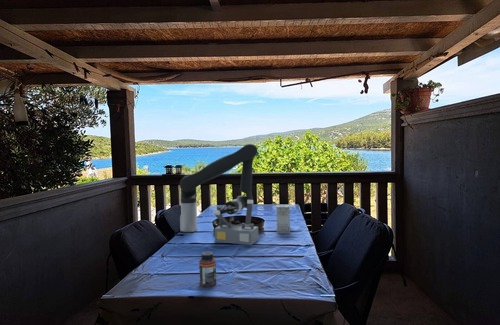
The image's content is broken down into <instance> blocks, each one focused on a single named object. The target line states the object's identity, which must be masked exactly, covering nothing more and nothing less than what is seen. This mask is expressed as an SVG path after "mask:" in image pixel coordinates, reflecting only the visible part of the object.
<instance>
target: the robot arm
mask: <svg viewBox="0 0 500 325" xmlns="http://www.w3.org/2000/svg"><path fill="white" fill-rule="evenodd" d="M257 154H258V148H257V146H256V145H255V144H254V143H246V144H245V145H243V147H241V148H239V149H238V150H237V151H235V152H233V153H230V154H227V155H225V156H222V157H220V158H218V159H216V160H214V161H212V162H211V163H209V164H207V165H206V166H204V167H202V169H200V170H199V171H196V172H194V173H192V174H190V175H189V174H188V175H185V176H183V177H182V178H181V180H180V181H179V188H180V213H181V214H180V215H179V228H180V230H179V231H180V232H183V233H192V232H196V231H197V230H198V217H197V216H198V214H197V212H198V211H197V187H199V186H201V185H202V184H203V183H206V182H208V181H210V180H213V179H215V178H217V177H220V176H222V175H223V174H225V173H227V172H229V171H230V170H232V169H233V168H235V167H236V166H237V165H239V164H241V163H242V167H241V168H242V170H241V176H240V187H239V191H240V192H241V193H243V194H244V195H238V196H236V198H235V199H231V200H229V201H226V202H225V204H224V205H223V206H221V207H220V206H216V210H219V211H220V213H221V214H222V215H224V214H225V215H226V214H227V215H230V216H232V215H234V214H236V213H238V212H240V211H242V210H243V209H247V200H253V201H254V199H253V193H252V188H253V187H252V185H253V166H254V165H253V164H254V159H255V157H257Z"/></svg>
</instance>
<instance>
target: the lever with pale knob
mask: <svg viewBox="0 0 500 325" xmlns="http://www.w3.org/2000/svg"><path fill="white" fill-rule="evenodd" d="M212 213H213V215H214V216H215V217H216V218H217V219H218V220H219V223H220V222H221V223H222V225H226V226H228V223H229V222H228V221H227V219H226V218H225V217H224V215H223V214H221V213H220V211H219V210H217V209H214V210H213V212H212Z"/></svg>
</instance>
